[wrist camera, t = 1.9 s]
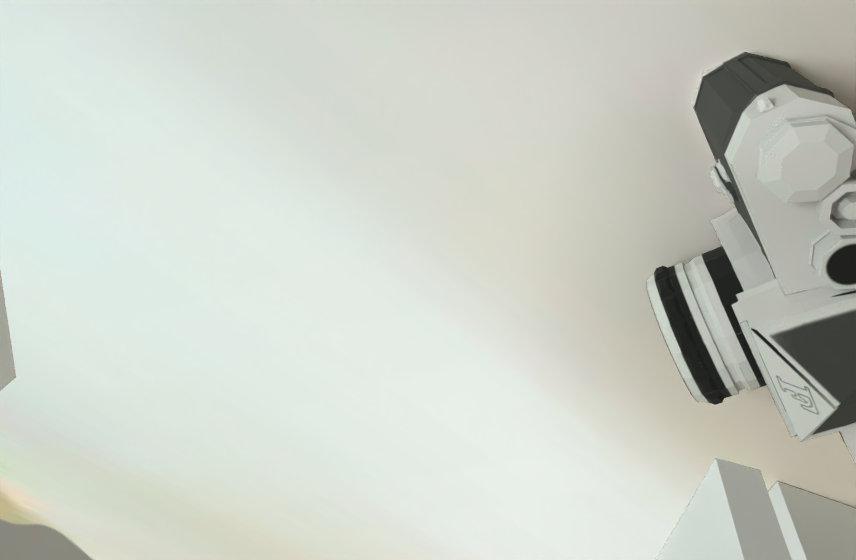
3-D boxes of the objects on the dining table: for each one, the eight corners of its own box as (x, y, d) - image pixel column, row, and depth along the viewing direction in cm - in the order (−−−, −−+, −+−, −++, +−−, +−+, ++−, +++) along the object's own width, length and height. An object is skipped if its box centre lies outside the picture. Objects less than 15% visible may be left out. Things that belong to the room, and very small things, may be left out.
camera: (574, 124, 28) (580, 218, 19) (789, 15, 25) (911, 71, 16) (712, 401, 33) (764, 571, 25) (904, 341, 30) (1041, 513, 22)
